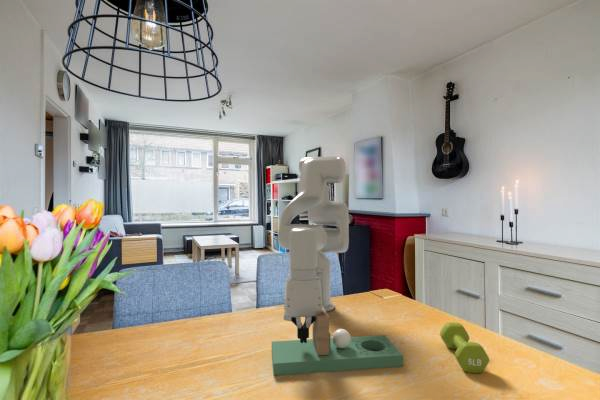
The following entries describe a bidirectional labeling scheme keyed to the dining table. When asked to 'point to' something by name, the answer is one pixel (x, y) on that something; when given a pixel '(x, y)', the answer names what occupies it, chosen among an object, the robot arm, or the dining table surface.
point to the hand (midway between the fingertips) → (303, 340)
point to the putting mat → (335, 356)
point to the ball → (341, 338)
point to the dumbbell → (464, 348)
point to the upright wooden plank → (321, 333)
